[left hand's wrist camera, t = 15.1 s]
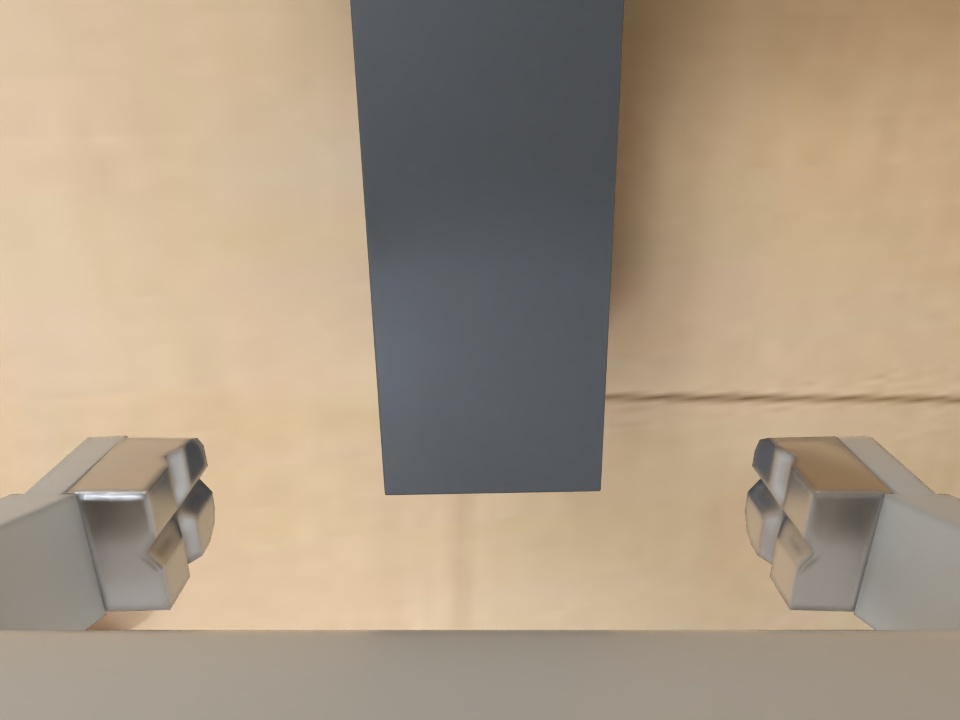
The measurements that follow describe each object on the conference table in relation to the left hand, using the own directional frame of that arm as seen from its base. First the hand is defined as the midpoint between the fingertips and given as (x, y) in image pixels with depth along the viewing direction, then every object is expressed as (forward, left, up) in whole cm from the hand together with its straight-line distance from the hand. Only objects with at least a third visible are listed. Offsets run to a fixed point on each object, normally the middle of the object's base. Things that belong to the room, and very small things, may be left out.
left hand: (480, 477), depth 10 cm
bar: (-8, +4, -17) cm, 19 cm away
